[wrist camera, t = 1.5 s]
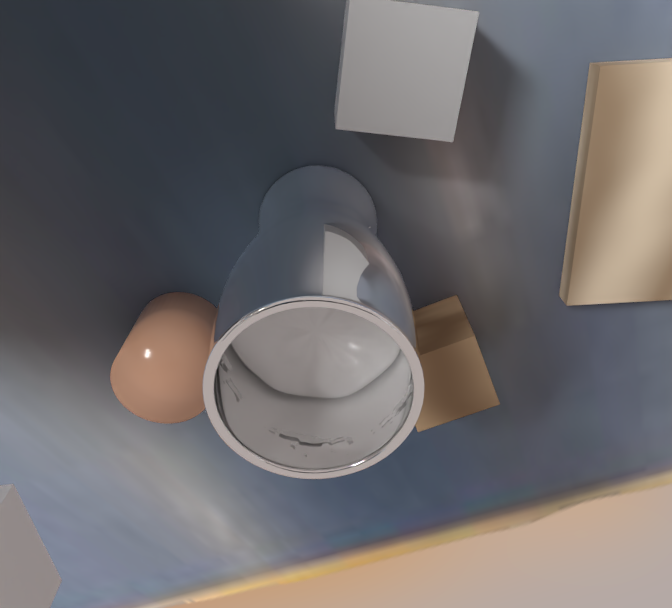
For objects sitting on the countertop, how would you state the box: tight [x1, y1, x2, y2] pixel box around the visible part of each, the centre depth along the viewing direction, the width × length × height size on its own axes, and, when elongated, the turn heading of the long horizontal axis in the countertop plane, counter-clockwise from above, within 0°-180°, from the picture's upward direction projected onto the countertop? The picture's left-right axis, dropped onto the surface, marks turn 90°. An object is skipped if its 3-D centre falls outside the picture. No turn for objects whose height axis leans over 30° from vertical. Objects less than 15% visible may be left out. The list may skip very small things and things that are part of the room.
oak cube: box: [413, 295, 500, 432], centre depth 32 cm, size 4×4×4 cm
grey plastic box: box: [334, 0, 479, 142], centre depth 26 cm, size 5×5×4 cm
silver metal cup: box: [203, 165, 425, 479], centre depth 24 cm, size 7×7×15 cm
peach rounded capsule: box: [110, 292, 217, 423], centre depth 32 cm, size 5×5×5 cm
